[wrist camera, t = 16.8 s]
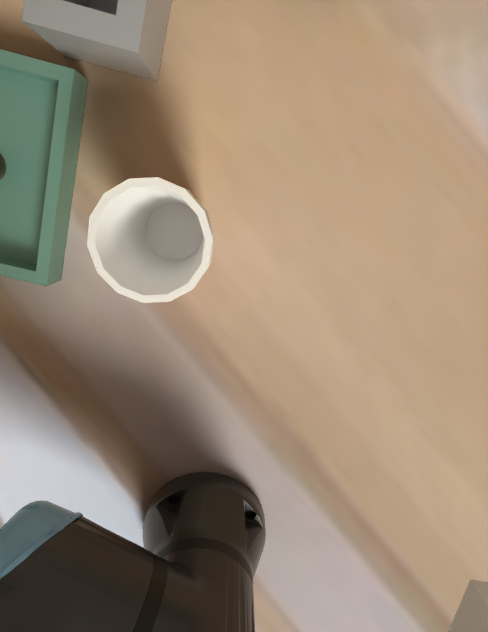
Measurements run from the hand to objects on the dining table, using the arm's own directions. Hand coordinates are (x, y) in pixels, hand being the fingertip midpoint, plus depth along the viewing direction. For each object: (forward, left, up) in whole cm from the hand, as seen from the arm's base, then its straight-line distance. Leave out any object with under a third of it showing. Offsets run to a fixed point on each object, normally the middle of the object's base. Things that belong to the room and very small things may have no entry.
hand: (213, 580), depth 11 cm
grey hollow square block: (+23, +16, -36) cm, 46 cm away
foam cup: (+5, +7, -37) cm, 38 cm away
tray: (+7, +26, -36) cm, 45 cm away
